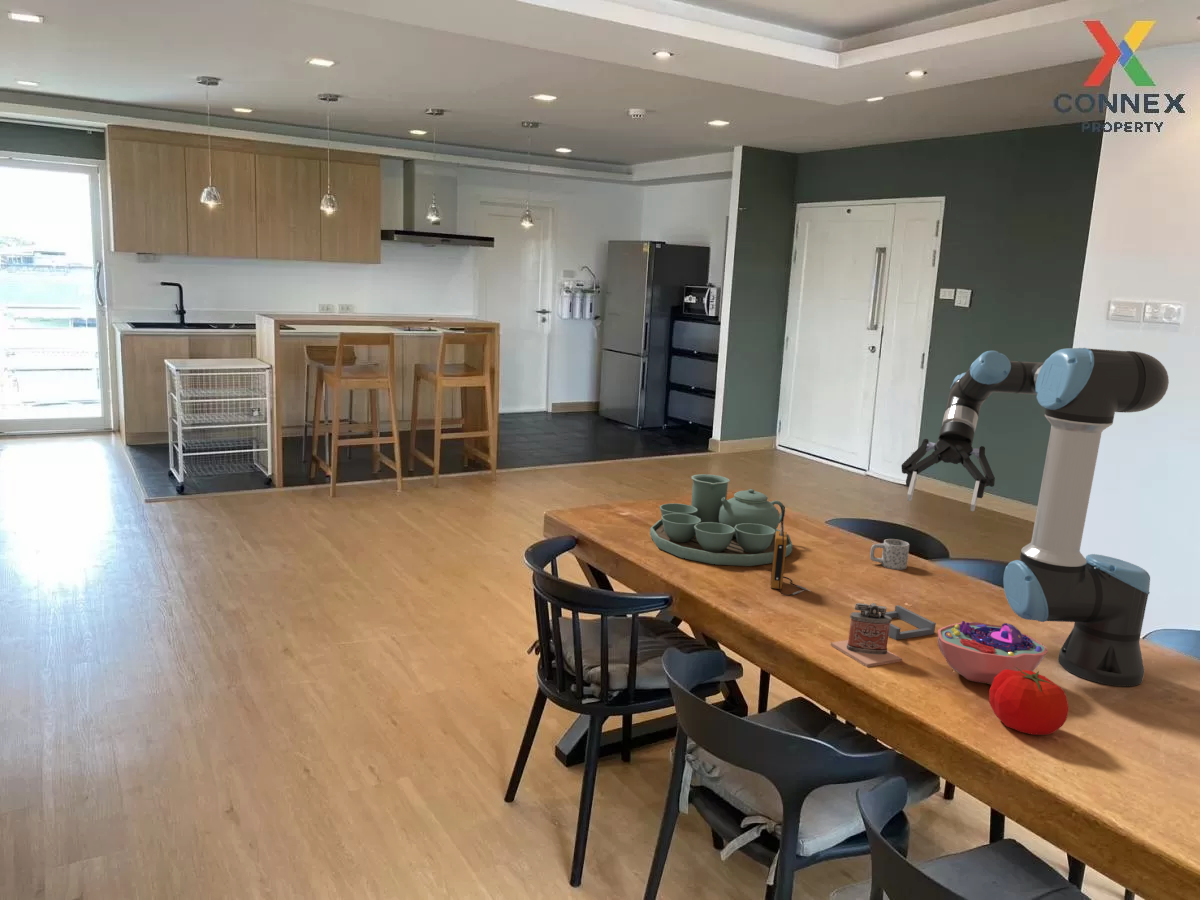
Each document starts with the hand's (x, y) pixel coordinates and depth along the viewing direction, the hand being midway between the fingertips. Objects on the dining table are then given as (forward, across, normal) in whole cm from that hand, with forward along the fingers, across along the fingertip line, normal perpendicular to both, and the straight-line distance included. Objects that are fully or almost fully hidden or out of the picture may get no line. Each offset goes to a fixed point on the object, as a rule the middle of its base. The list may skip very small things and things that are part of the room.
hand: (940, 502), depth 199 cm
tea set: (+4, +59, -35) cm, 69 cm away
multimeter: (+20, +32, -19) cm, 42 cm away
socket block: (+27, +4, -11) cm, 30 cm away
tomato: (+52, -24, +14) cm, 59 cm away
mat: (+41, +7, +3) cm, 41 cm away
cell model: (+40, -16, +1) cm, 42 cm away
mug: (-5, +15, -44) cm, 47 cm away
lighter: (+40, +7, +3) cm, 41 cm away
